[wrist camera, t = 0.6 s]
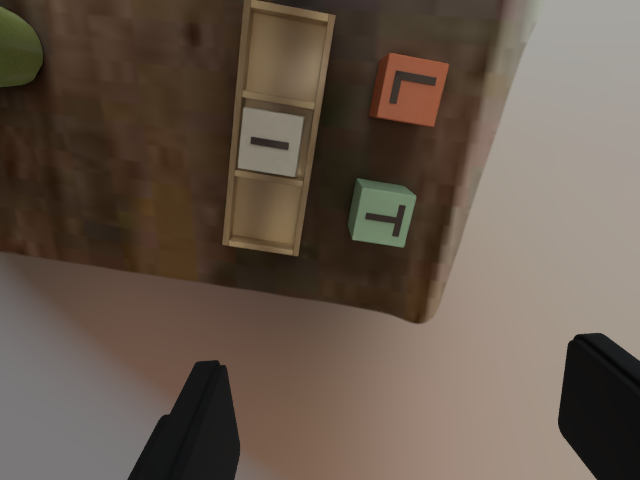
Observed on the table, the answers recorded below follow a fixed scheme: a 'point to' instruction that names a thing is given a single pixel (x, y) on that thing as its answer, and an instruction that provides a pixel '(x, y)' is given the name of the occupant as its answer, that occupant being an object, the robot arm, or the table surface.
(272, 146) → the ivory block
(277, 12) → the wooden tray
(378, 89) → the terracotta block
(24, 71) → the plant pot
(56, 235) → the table surface
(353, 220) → the sage block
